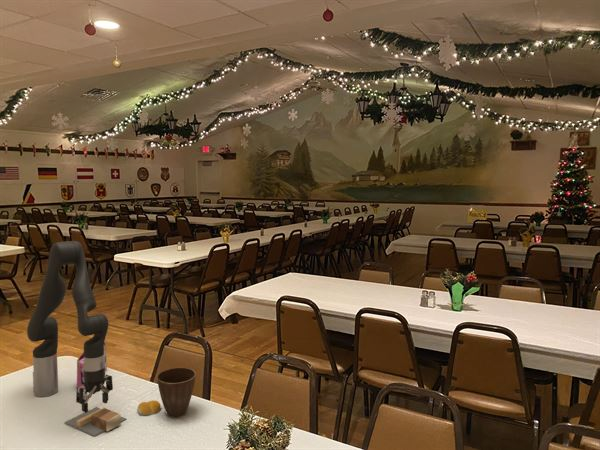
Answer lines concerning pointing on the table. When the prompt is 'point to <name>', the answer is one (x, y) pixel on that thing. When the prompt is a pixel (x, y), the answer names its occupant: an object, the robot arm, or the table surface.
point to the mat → (87, 423)
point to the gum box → (81, 368)
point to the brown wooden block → (106, 419)
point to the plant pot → (176, 389)
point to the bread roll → (148, 408)
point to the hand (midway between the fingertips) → (95, 407)
